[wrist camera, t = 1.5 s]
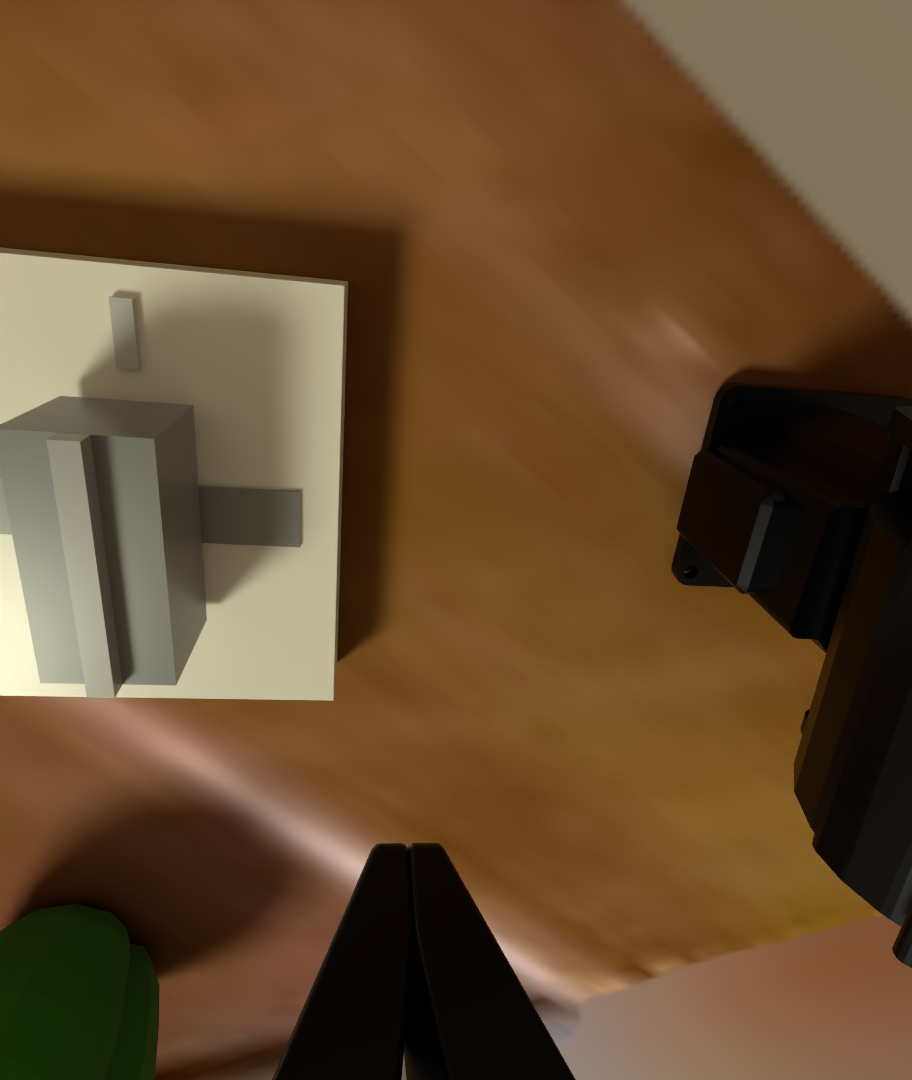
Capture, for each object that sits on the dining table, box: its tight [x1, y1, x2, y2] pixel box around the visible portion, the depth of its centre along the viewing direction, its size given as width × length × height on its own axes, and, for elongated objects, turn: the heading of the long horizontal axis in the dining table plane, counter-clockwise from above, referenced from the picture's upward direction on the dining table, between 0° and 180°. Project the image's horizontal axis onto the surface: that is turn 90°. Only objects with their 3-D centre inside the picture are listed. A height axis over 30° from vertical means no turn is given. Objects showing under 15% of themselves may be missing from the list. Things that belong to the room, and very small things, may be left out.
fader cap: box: [0, 396, 207, 698], centre depth 15 cm, size 3×6×4 cm, turn 174°
